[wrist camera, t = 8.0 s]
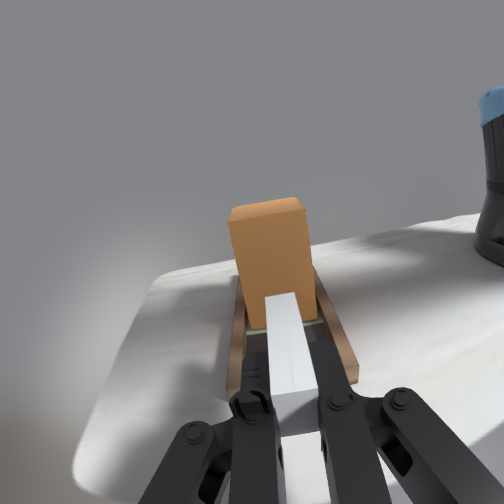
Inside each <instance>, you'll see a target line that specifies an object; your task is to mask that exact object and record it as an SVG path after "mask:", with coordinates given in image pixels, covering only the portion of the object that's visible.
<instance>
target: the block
mask: <svg viewBox="0 0 504 504" xmlns="http://www.w3.org/2000/svg"><path fill="white" fill-rule="evenodd" d="M228 227H229V231H230V236H231V241H232V246H233V250H234V254H235V259H236V264H237V269H238V273H239V277H240V282H241V286H242V291H243V295H244V300H245V304H246V308H247V313H248V317H249V321H250V326H251V330H254V329H261V328H267V320H266V304H265V297H269V296H275V295H281V294H286V293H292V292H294V293H295V297H296V301H297V305H298V309H299V312H300V316H301V320H302V322H303V321H309V320H314V319H317V307H316V296H315V285H314V276H313V266H312V257H311V249H310V241H309V233H308V225H307V218H306V210H305V208H304V207H303V206H302V205H301V203H300V202H299V201H298V200H297V199H296V198H295V197H290V198H285V199H278V200H272V201H266V202H261V203H256V204H250V205H244V206H239V207H234V208H233V209H232V212H231V214H230V217H229V219H228Z"/></svg>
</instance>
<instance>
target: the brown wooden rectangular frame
mask: <svg viewBox="0 0 504 504" xmlns="http://www.w3.org/2000/svg"><path fill="white" fill-rule="evenodd" d="M312 266H313V265H312ZM313 276H314V285H315V296H316V307H317V319H314V320H309V321H303V322H302V324H303V328H304V332H305V336H306V340H307V343H310V342H315V341H320V340H325V339H329V340H330V341H331V342H332V343H334V344H335V345H336V348H337V350H338V353H339V356H340V358H341V362H342V364H343V367H344V369H345V372H346V375H347V378H348V381H349V383H350V385H351V384H355V383H358V375H359V364H358V361H357V359H356V357H355V355H354V352H353V350H352V348H351V345H350V343H349V341H348V339H347V337H346V334H345V332H344V330H343V328H342V325H341V323H340V321H339V319H338V317H337V315H336V312H335V310H334V308H333V306H332V304H331V302H330V300H329V298H328V295H327V293H326V291H325V289H324V287H323V285H322V283H321V281H320V279H319V277H318V275H317V273H316V271H315V269H314V267H313ZM266 350H268V337H267V328H261V329H254V330H251V326H250V321H249V317H248V313H247V308H246V304H245V300H244V295H243V291H242V286H241V282H240V277H239V280H238V288H237V296H236V304H235V312H234V320H233V329H232V337H231V345H230V354H229V362H228V371H227V380H226V390H227V392H228V395H229V398H231V397H232V396H233V395H234V394H235V393H236V392H238V391H240V386H241V372H242V361H243V359H244V357H245V356H246V354H247V353H251V352H259V351H266Z"/></svg>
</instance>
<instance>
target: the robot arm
mask: <svg viewBox="0 0 504 504" xmlns="http://www.w3.org/2000/svg"><path fill="white" fill-rule="evenodd" d="M479 108H480V116H481V125H480V126H481V128H483V137H484V146H485V158H486V180H487V181H486V182H487V194H486V198H485V201H484V205H483V208H482V212H481V214H480V217H479V221H478V223H477V226H476V230H475V242H474V245H475V248H476V249H477V250H478V252H479V253H480V254H482V255H483V256H484V257H486V258H488V259H489V260H491V261H493V262H495V263H498V264H500V265H503V266H504V86H502V87H498V88H494V89H491V90H489V91H486V92H485V93H483V94H482V95H481V98H480V100H479ZM265 304H266V320H267V337H268V350H266V351H259V352H251V353H247V354H246V356H245V357H244V359H243V361H242V372H241V386H240V391H238V392H236V393H235V394H234V395H233V396H232V397H231V398H230V401H229V406H230V409H231V411H232V413H233V417H232V418H230V419H229V420H227V421H224V422H222V423H219V424H215V425H212V426H210V425H209V424H208V423H205V422H202V421H193V422H190V423H187V424H185V425H184V426H182V427H181V428H180V430H179V431H178V432H177V434H176V436H175V438H174V440H173V441H172V443H171V445H170V447H169V449H168V451H167V452H166V454H165V456H164V458H163V460H162V462H161V463H160V465H159V467H158V469H157V471H156V473H155V474H154V476H153V478H152V480H151V482H150V483H149V485H148V487H147V489H146V491H145V492H144V494H143V496H142V498H141V499H140V501H139V503H138V504H220V501H221V499H222V496H223V494H224V491H225V488H226V486H227V483H228V480H229V478H230V493H229V504H286V491H285V476H284V462H283V449H282V445H281V437H285V436H292V435H299V434H305V433H311V432H316V431H320V434H321V451H323V456H324V462H325V468H326V474H327V480H328V486H329V492H330V498H331V504H392V502H391V498H390V495H389V491H388V487H387V484H386V480H385V477H384V474H383V470H382V467H381V464H380V461H379V457H378V454H377V452H378V453H379V455H380V456H381V458H382V459H383V461H384V462H385V463H386V465H387V466H388V468H389V469H390V471H391V472H392V474H393V475H394V476H395V478H396V479H397V481H398V482H399V484H400V485H401V486H402V488H403V489H404V491H405V492H406V494H407V495H408V497H409V498H410V499H411V501H412V502H413V504H504V488H503V486H502V485H501V484H500V483H499V482H498V480H497V479H496V478H495V477H494V476H493V475H492V474H491V473H490V472H489V470H488V469H487V468H486V467H485V466H484V465H483V464H482V463H481V461H480V460H479V459H478V458H477V457H476V456H475V455H474V454H473V453H472V452H471V451H470V449H469V448H468V447H467V446H466V445H465V444H464V443H463V442H462V441H461V440H460V439H459V438H458V436H457V435H456V434H455V433H454V432H453V431H452V430H451V429H450V428H449V427H448V426H447V425H446V424H445V423H444V421H443V420H442V419H441V418H440V417H439V416H438V415H437V414H436V413H435V412H434V411H433V410H432V409H431V408H430V407H429V406H428V405H427V404H426V402H425V401H424V400H423V399H422V398H421V397H420V396H419V395H418V394H417V393H416V392H414V391H413V390H412V389H409V388H405V387H402V388H395V389H392V390H390V391H389V392H388V393H386V394H385V396H384V397H381V398H370V397H363V396H360V395H358V394H357V393H355V392H354V391H353V390H352V388H351V386H350V383H349V381H348V378H347V375H346V372H345V369H344V367H343V364H342V362H341V358H340V356H339V353H338V350H337V348H336V345H335V344H334V343H332V342H331V341H330V340H329V339H325V340H320V341H315V342H310V343H307V340H306V336H305V332H304V328H303V324H302V320H301V316H300V312H299V309H298V305H297V301H296V297H295V293H294V292H292V293H286V294H281V295H275V296H269V297H265ZM376 450H377V451H376ZM230 475H231V477H230Z"/></svg>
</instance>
